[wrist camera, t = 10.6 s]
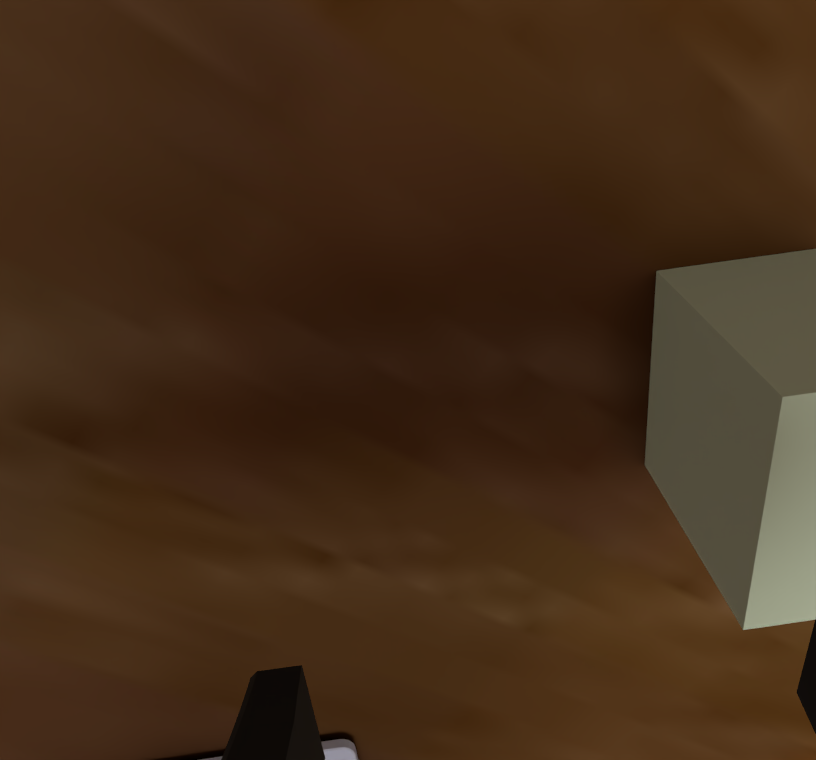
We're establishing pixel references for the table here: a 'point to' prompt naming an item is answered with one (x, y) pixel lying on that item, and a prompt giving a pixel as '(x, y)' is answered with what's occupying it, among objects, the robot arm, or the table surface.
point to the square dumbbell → (740, 426)
